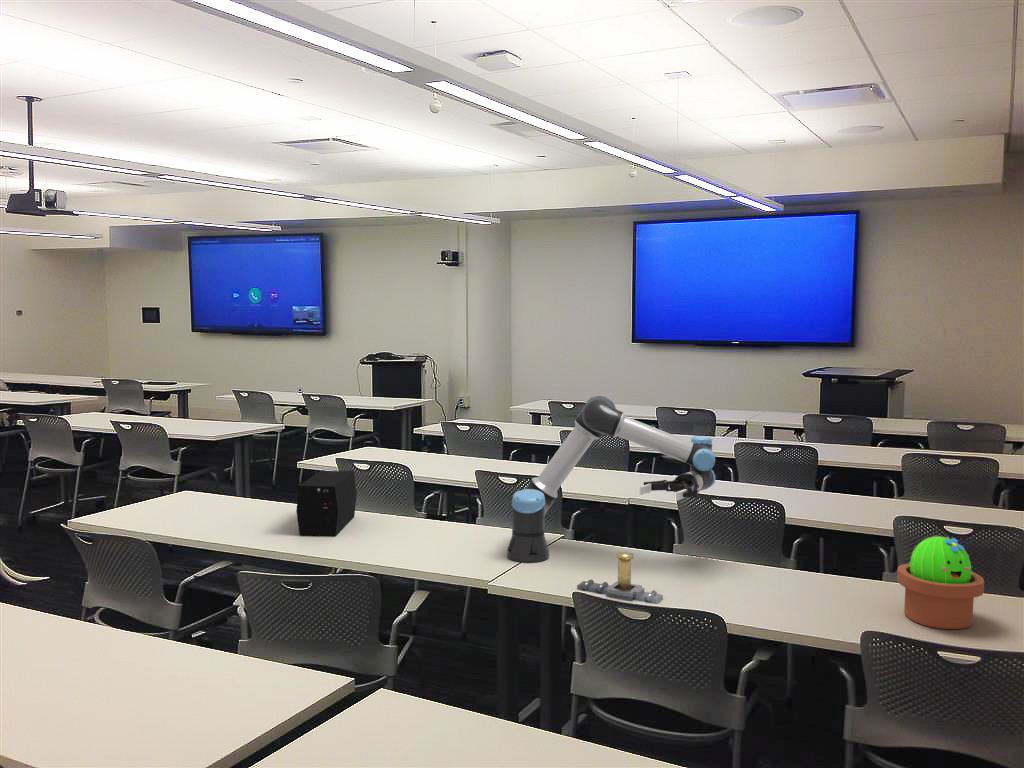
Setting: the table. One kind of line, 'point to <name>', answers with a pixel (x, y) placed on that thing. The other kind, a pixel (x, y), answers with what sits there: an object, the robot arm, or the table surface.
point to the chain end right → (636, 593)
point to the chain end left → (600, 589)
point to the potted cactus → (940, 584)
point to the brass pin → (624, 570)
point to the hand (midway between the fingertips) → (658, 493)
